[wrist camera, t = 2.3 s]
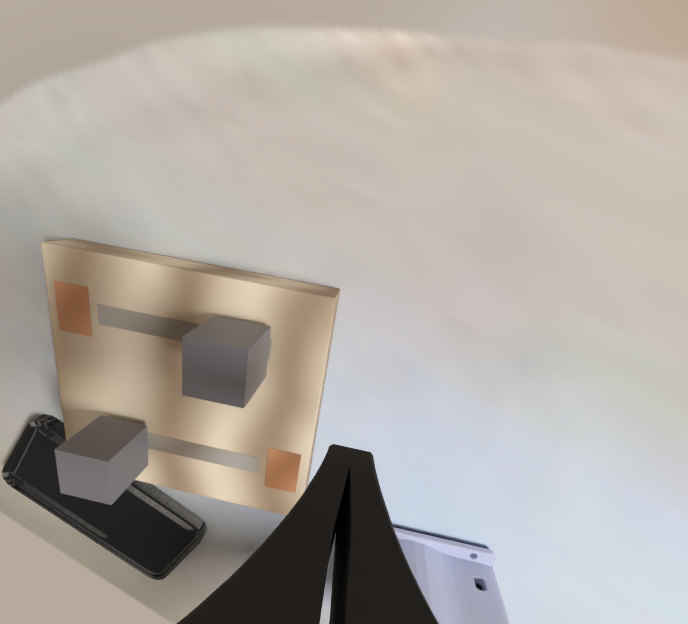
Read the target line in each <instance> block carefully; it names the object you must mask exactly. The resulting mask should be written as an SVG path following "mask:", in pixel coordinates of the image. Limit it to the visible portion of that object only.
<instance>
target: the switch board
mask: <svg viewBox="0 0 688 624" xmlns="http://www.w3.org/2000/svg"><path fill="white" fill-rule="evenodd" d="M41 247H42V254H43V262H44V270H45V278H46V286H47V294H48V302H49V310H50V317H51V325H52V333H53V341H54V349H55V357H56V365H57V373H58V380H59V388H60V396H61V404H62V412H63V420H64V428H65V436H66V441H67V440H68V439H69V438H71V437H72V436H73V435H75V434H76V433H78V432H79V431H80V430H82V429H83V428H84V427H86V426H87V425H88V424H90V423H91V422H92V421H94V420H95V419H97V418H98V417H99V416H106V417H110V418H115V419H119V420H124V421H128V422H133V423H137V424H142V425H146V426H147V437H148V466H147V467H146V468H145V469H144V470H143V471H142V472H141V473H140V475H139V476H138V477H137V478H136V479H135V480H138V481H142V482H146V483H150V484H155V485H159V486H163V487H168V488H172V489H176V490H180V491H185V492H189V493H193V494H198V495H202V496H206V497H211V498H215V499H219V500H223V501H228V502H232V503H236V504H241V505H245V506H249V507H253V508H258V509H262V510H266V511H271V512H275V513H279V514H283V515H288V513H289V512H290V511H291V509H292V508H293V507H294V505H295V504H296V503H297V501H298V500H299V499H300V497H301V496H302V494H303V493H304V492H305V490H306V489H307V486H308V480H309V474H310V468H311V462H312V456H313V449H314V443H315V437H316V431H317V425H318V419H319V413H320V407H321V401H322V395H323V389H324V383H325V377H326V371H327V365H328V359H329V352H330V346H331V340H332V334H333V328H334V322H335V316H336V310H337V304H338V298H339V292H340V289H337V288H332V287H326V286H321V285H316V284H311V283H305V282H300V281H295V280H289V279H284V278H279V277H274V276H268V275H263V274H258V273H252V272H247V271H242V270H237V269H231V268H226V267H221V266H215V265H210V264H205V263H200V262H194V261H189V260H184V259H178V258H173V257H168V256H163V255H157V254H152V253H147V252H141V251H136V250H131V249H126V248H120V247H115V246H110V245H105V244H99V243H94V242H89V241H83V240H78V239H67V240H57V241H47V242H41ZM215 315H217V316H222V317H227V318H232V319H237V320H242V321H247V322H252V323H257V324H263V325H268V326H271V332H270V342H269V352H268V362H267V372H266V378H265V379H264V381H263V382H262V383H261V385H260V386H259V388H258V389H257V391H256V392H255V393H254V395H253V396H252V398H251V399H250V401H249V402H248V403H247V405H246V406H245V408H239V407H234V406H230V405H225V404H220V403H216V402H211V401H206V400H202V399H197V398H192V397H188V396H183V395H182V336H184V335H185V334H187V333H188V332H190V331H192V330H193V329H195V328H196V327H198V326H199V325H201V324H203V323H204V322H206V321H207V320H209V319H210V318H212V317H213V316H215Z"/></svg>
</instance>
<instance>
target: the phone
mask: <svg viewBox="0 0 688 624" xmlns="http://www.w3.org/2000/svg"><path fill="white" fill-rule="evenodd" d="M65 441H66V436H65V428H64V423H63V422H61V421H60V420H58V419H57V418H55V417H53V416H50V415H42V416H40V417H38V418H37V419H35V420H33V421H32V422H30V423H29V424H28V425H27V427H26V429H25V430H24V432H23V434H22V436H21V438H20V439H19V441H18V443H17V445H16V447H15V448H14V450H13V452H12V454H11V456H10V457H9V459H8V461H7V463H6V464H5V466H4V468H3V470H2V476H3V478H4V480H5V481H6V482H7V484H9V485H10V486H11V487H13V488H14V489H16V490H17V491H19V492H20V493H22V494H23V495H25V496H26V497H28V498H29V499H31V500H32V501H34V502H35V503H37V504H38V505H40V506H41V507H43V508H44V509H46V510H48V511H49V512H51V513H52V514H54V515H55V516H57V517H58V518H60V519H61V520H63V521H64V522H66V523H67V524H69V525H70V526H72V527H73V528H75V529H76V530H78V531H79V532H81V533H82V534H84V535H85V536H87V537H89V538H90V539H92V540H93V541H95V542H96V543H98V544H99V545H101V546H102V547H104V548H105V549H107V550H108V551H110V552H111V553H113V554H114V555H116V556H117V557H119V558H120V559H122V560H123V561H125V562H126V563H128V564H129V565H131V566H133V567H134V568H136V569H137V570H139V571H140V572H142V573H143V574H145V575H146V576H148V577H150V578H152V579H155V580H161V579H164V578H165V577H166V576H167V575H168V574H169V573H170V572H171V571H172V570H173V569H174V568H175V567H176V566H177V565H178V564H179V563H180V562H181V561H182V560H183V559H184V558H185V557H186V556H187V555H188V554H189V553H190V552H191V551H192V550H193V549H194V548H195V547H196V546H197V545H198V544H199V543H200V541H201V539H202V538H203V536H204V534H205V532H206V528H207V527H206V524H205V523H204V521H203V520H202V519H201V518H200V517H198V516H197V515H195V514H194V513H193V512H191V511H190V510H188V509H187V508H185V507H184V506H182V505H181V504H180V503H178V502H177V501H175V500H174V499H172V498H171V497H169V496H168V495H167V494H165V493H164V492H162V491H161V490H159V489H158V488H156V487H155V486H154V485H152V484H150V483H146V482H142V481H138V480H134V481H133V482H132V483H131V484H130V485H129V487H128V488H127V489H126V490H125V491H124V492H123V493H122V494H121V495H120V496H119V497H118V499H117V500H116V501H115V502H114V503H113V504H112V505H109V504H105V503H100V502H96V501H92V500H88V499H84V498H79V497H75V496H71V495H67V494H63V493H61V492H60V485H59V478H58V471H57V464H56V457H55V450H54V449H56V448H57V447H58V446H60V445H61V444H63V443H64V442H65Z"/></svg>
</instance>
